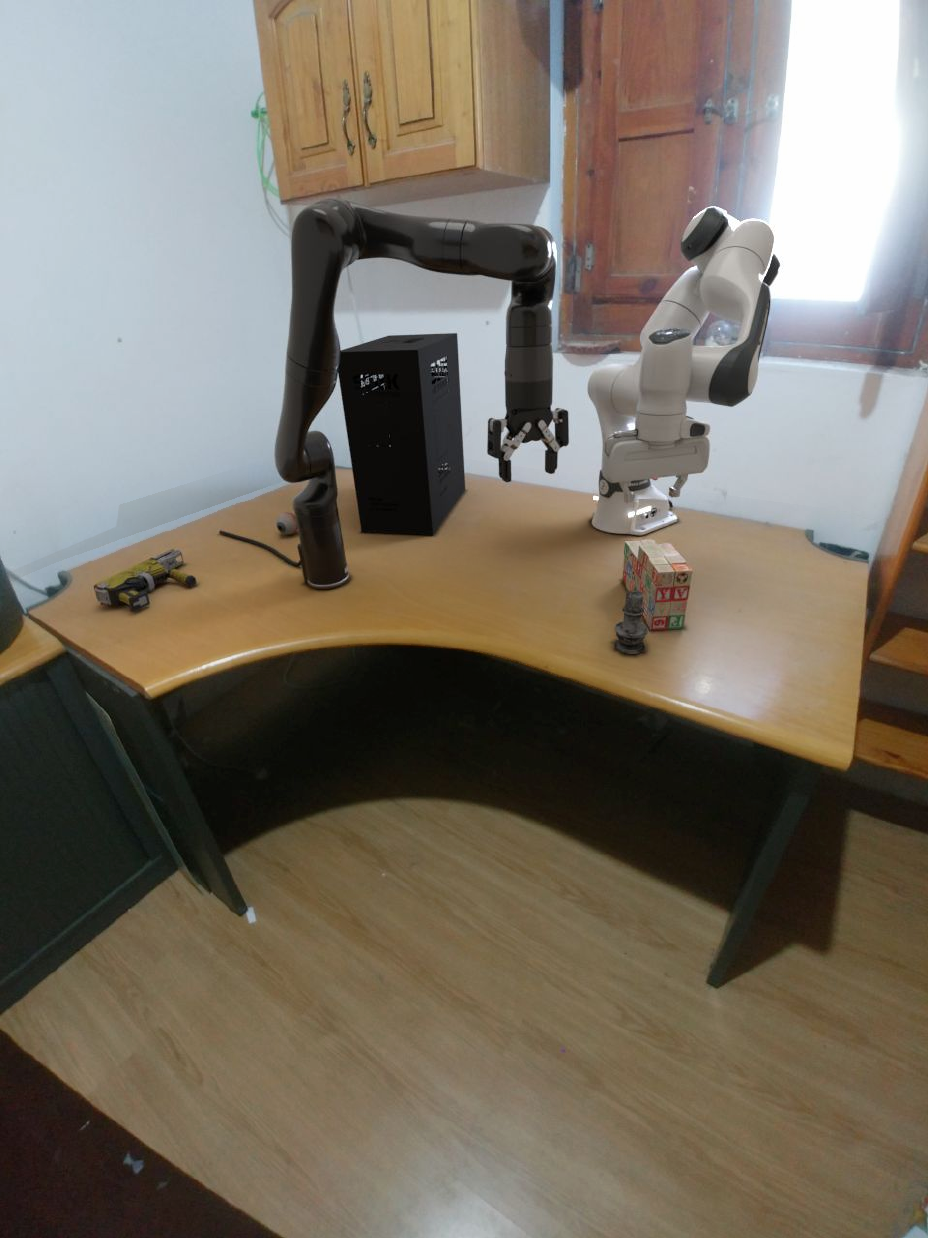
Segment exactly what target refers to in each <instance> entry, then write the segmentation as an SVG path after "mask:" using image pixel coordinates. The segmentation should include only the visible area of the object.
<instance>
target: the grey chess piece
mask: <svg viewBox="0 0 928 1238" xmlns="http://www.w3.org/2000/svg"><path fill="white" fill-rule="evenodd" d="M633 589H634V590H631V591H627V593H626V595H625V601H624V606H623V607H622V613H623V619H622V621H619V622H617V623H616V624H615V625H614V627H613V629H614V632H615V635H616V638H617V639H616V641H615V642H614V644H613V645H614V648H615V649H616V650H617V651H618V652H621V653H623V654H627V655H637V654H640V653H642V652H643V651H645V649H646V648H645V647H646V646H645V644H644V642H643V641H644V640H645V639H646V638H647V635H649V627H648V625H647V624H644V623H642V617H643V615H642V614H643V613H644V609H643V608H642V604H643V594H642V593H641V592H640V591H638V590H637V587H636V586H635V587H634V588H633Z"/></svg>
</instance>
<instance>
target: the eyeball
mask: <svg viewBox="0 0 928 1238" xmlns="http://www.w3.org/2000/svg"><path fill="white" fill-rule="evenodd" d="M275 527H276V529H277V530H278V531H279V532H280V533H281V534H282V535H285V536H286V535H287V536H289V535H293V534H295V533H296V532H298V528H297V523H296V518H295V513H292V512H287V511H286V512H282V513H280V514H279V515H278V516H277V517H276V520H275Z"/></svg>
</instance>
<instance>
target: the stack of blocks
mask: <svg viewBox="0 0 928 1238" xmlns="http://www.w3.org/2000/svg"><path fill="white" fill-rule="evenodd" d="M623 547H624V548H623V550H624V551H623V555H624V557H623V565H622V567H623V569H622V582H623V583H624V585H625V588H626V589H627V592H629V591H631V590H634V589H633V588H634V587H635V586H636V587H637V590H638V591H640V592H641V593H642V594H643V604H642V608H643V609H644V613H643V614H642V617H643V619H644V621H645V622H646V626H647V627H648V629H649V630H650V631H663V630H676V629H677V630H679V629H683V628H684V625H685V619H686V611H687V605H688V600H689V596H690V589H691V582H692V577H693V573H694V572H693V571H694V570H693V569H692V568H691V566H690V565H689V564H688V563H687V561H686V559H685V558H684V557H683V556H682V555H681V554H680V553H679V552H678V551H677V549H676V548H675V547H673V545H672V544H671V543H670V542H664V543H657V542H656V541H655V540H654V539H640V540H629V541H628V540H625V541H624V546H623Z"/></svg>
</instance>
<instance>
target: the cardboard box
mask: <svg viewBox="0 0 928 1238" xmlns="http://www.w3.org/2000/svg"><path fill="white" fill-rule="evenodd" d="M340 350H341V354H340V363H339V370H338V383H339V388H340V394H341V401H342V408H343V416H344V422H345V429H346V438H347V444H348V451H349V456H350V464H351V471H352V477H353V483H354V491H355V497H356V504H357V512H358V518H359V526H360V531H361V533H370V534H371V533H372V534H373V533H374V534H393V535H394V534H397V535H421V536H434V535H435V534H436V532H437V530H438V529H439V528H440V526H441V525H442V524H443V522H444V520H445V519H446V518H447V516H448V515H449V514H450V512H451V511H452V509H453V508H454V506H455V505H456V504H457V502H458V501H459V499H461V497H462V495H463V494H464V493H465V491H466V477H465V457H464V439H463V437H464V435H463V421H462V419H463V417H462V400H461V399H462V398H461V382H460V380H461V379H460V362H459V361H460V360H459V343H458V332H451V333H450V332H448V333H424V334H423V333H420V334H419V333H417V334H391V335H386V336H383V337H379V338H376V339H373V340H370V341H366V342H363V343H361V344H356V345H354V346H351V347H348V348H344V349H340ZM438 361H439V364H438ZM433 364H434V366H433Z"/></svg>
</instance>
